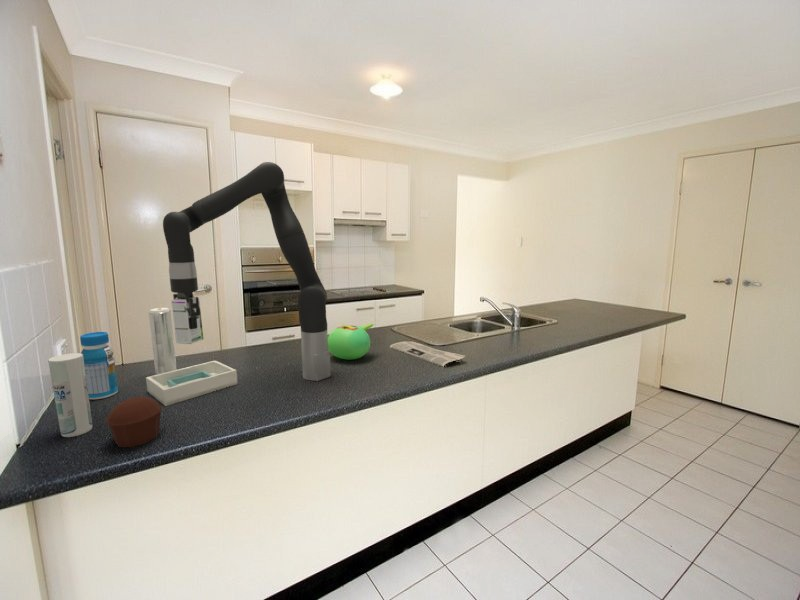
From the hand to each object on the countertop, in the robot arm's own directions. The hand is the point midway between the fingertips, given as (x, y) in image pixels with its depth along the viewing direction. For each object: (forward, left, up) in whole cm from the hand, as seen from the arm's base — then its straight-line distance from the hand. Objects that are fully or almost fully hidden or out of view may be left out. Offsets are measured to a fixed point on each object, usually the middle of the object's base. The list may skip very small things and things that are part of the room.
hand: (188, 326), depth 120 cm
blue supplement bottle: (+17, +21, -21) cm, 34 cm away
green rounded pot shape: (-16, -55, -21) cm, 61 cm away
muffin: (-22, +22, -21) cm, 38 cm away
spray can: (-6, +31, -21) cm, 38 cm away
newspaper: (-38, -79, -22) cm, 91 cm away
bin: (0, 0, -21) cm, 21 cm away
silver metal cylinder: (+19, +2, -21) cm, 28 cm away
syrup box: (0, 0, -5) cm, 5 cm away
